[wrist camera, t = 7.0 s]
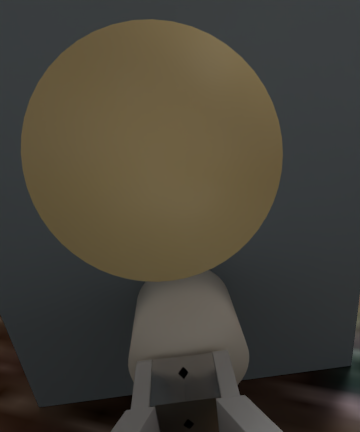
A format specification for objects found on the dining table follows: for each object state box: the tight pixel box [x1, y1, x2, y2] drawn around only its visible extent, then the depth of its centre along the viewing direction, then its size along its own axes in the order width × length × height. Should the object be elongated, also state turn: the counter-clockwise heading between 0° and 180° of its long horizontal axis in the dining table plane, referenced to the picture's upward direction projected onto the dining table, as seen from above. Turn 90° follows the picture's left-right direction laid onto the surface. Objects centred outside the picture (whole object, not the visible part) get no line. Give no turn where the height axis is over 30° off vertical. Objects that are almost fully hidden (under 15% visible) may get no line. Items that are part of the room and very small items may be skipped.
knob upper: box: [21, 19, 283, 282], centre depth 11 cm, size 14×4×4 cm, turn 3°
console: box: [0, 0, 360, 407], centre depth 17 cm, size 8×18×20 cm, turn 93°
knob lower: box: [128, 270, 249, 385], centre depth 16 cm, size 14×4×4 cm, turn 3°
